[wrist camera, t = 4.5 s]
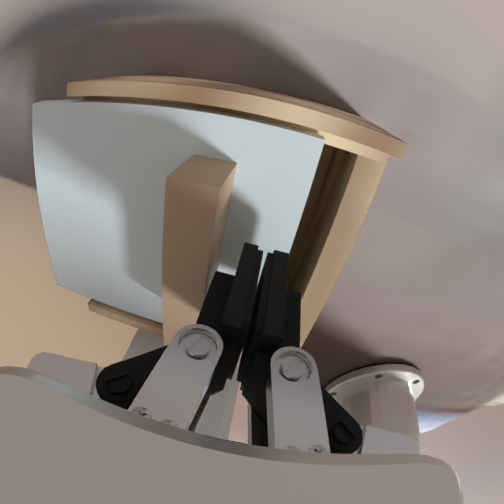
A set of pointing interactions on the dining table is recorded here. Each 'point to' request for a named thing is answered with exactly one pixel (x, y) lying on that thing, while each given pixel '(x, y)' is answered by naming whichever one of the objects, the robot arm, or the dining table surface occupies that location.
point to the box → (322, 189)
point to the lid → (163, 198)
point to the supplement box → (220, 403)
